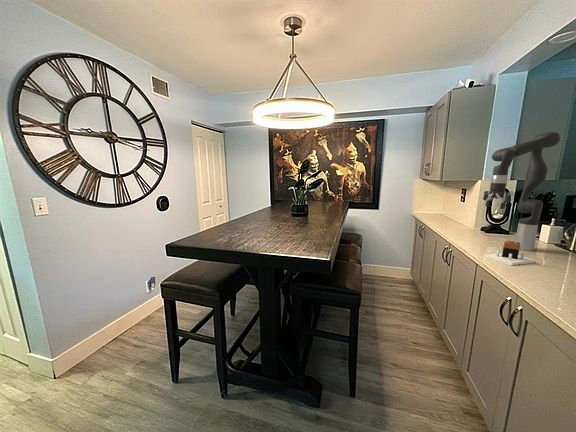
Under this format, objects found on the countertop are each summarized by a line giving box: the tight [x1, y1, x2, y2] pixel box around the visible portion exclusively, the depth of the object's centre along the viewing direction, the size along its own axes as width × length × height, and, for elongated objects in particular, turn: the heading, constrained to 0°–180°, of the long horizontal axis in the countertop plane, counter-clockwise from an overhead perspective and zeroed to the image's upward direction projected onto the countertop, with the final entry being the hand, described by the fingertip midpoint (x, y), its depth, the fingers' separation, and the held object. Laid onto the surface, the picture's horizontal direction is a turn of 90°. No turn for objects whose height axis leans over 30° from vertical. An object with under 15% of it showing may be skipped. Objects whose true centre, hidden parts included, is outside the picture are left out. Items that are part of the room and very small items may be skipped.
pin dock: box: [485, 249, 536, 266], centre depth 141 cm, size 18×14×5 cm
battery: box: [501, 239, 520, 259], centre depth 140 cm, size 4×7×10 cm, turn 46°
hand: (494, 207), depth 154 cm, fingers open, 8 cm apart
